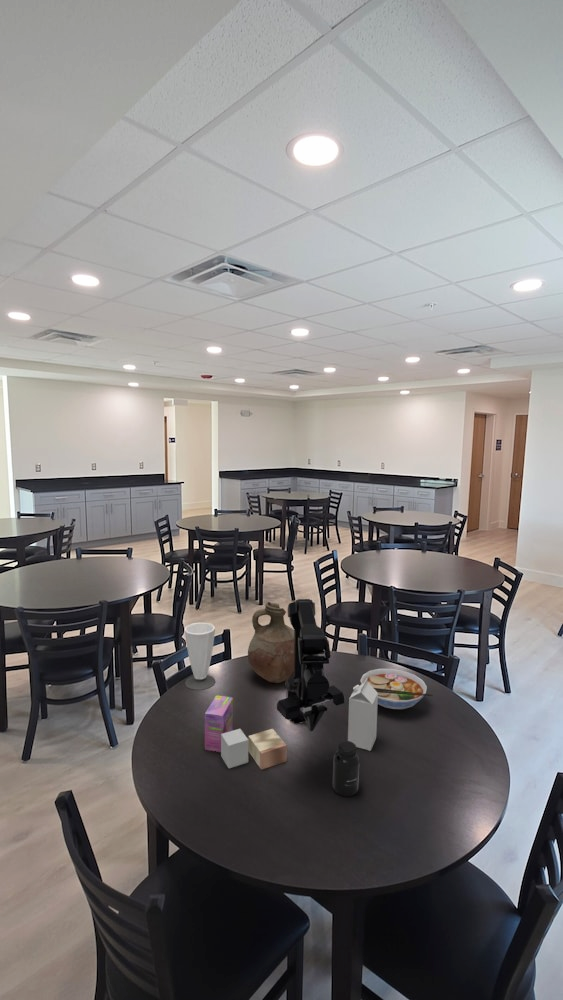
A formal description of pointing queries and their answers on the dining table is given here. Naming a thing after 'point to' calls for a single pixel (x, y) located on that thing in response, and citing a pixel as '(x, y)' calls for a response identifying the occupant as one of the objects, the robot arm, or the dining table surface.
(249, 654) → the jug
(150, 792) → the dining table surface
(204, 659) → the cup
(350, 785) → the supplement bottle
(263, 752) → the birch block
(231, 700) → the box
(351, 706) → the milk carton
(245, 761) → the grey block
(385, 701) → the ramen bowl
